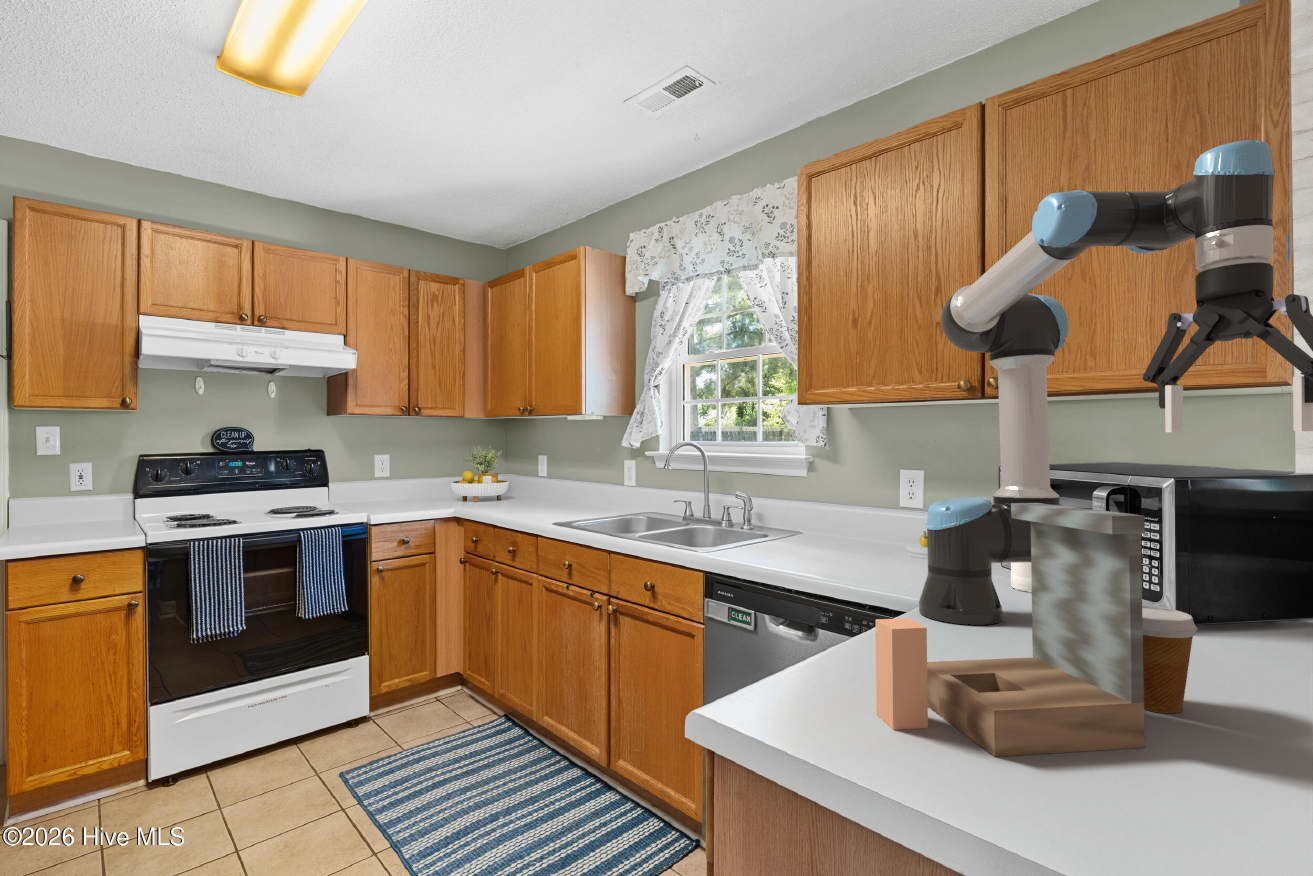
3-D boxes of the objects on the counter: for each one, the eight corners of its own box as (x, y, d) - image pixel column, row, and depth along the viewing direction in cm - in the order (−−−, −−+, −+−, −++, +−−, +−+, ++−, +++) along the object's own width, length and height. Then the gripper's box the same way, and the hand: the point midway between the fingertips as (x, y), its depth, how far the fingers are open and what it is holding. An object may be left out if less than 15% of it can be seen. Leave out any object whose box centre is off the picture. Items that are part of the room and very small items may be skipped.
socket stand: (916, 698, 87) (914, 504, 87) (1040, 692, 89) (1038, 503, 89) (997, 759, 70) (994, 518, 70) (1148, 749, 72) (1144, 515, 72)
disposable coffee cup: (1100, 704, 84) (1098, 612, 85) (1115, 685, 91) (1114, 600, 91) (1194, 726, 78) (1192, 626, 78) (1203, 704, 84) (1201, 612, 85)
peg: (876, 714, 81) (875, 619, 82) (909, 713, 82) (908, 618, 82) (893, 729, 77) (892, 629, 77) (927, 728, 78) (926, 627, 78)
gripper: (1113, 286, 93) (1114, 432, 93) (1353, 236, 70) (1354, 430, 70) (1145, 290, 96) (1146, 432, 96) (1385, 244, 73) (1386, 430, 73)
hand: (1234, 432), depth 83 cm, fingers open, 13 cm apart
